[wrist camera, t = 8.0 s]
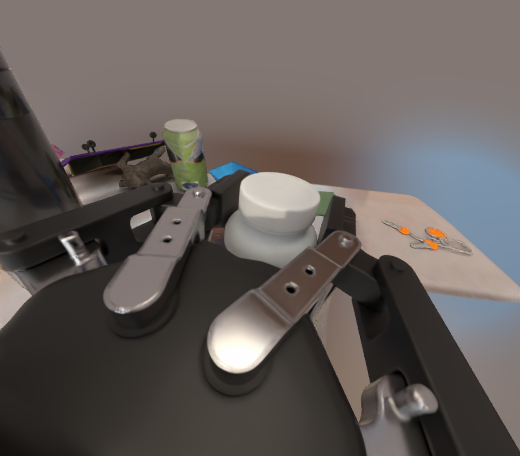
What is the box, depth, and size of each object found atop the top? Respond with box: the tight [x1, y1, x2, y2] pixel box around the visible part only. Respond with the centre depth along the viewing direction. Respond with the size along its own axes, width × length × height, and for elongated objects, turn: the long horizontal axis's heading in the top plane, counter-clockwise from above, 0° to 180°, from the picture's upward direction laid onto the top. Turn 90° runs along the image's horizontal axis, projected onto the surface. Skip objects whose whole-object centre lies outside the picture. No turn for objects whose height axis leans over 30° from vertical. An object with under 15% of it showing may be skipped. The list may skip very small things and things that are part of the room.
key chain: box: [383, 220, 473, 254], centre depth 34 cm, size 13×7×1 cm, turn 80°
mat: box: [316, 191, 336, 216], centre depth 40 cm, size 10×9×1 cm
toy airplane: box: [61, 132, 165, 176], centre depth 39 cm, size 23×26×5 cm
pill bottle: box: [224, 172, 320, 269], centre depth 13 cm, size 5×5×10 cm
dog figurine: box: [117, 146, 174, 188], centre depth 38 cm, size 12×6×7 cm
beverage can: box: [163, 119, 208, 191], centre depth 35 cm, size 6×7×12 cm
